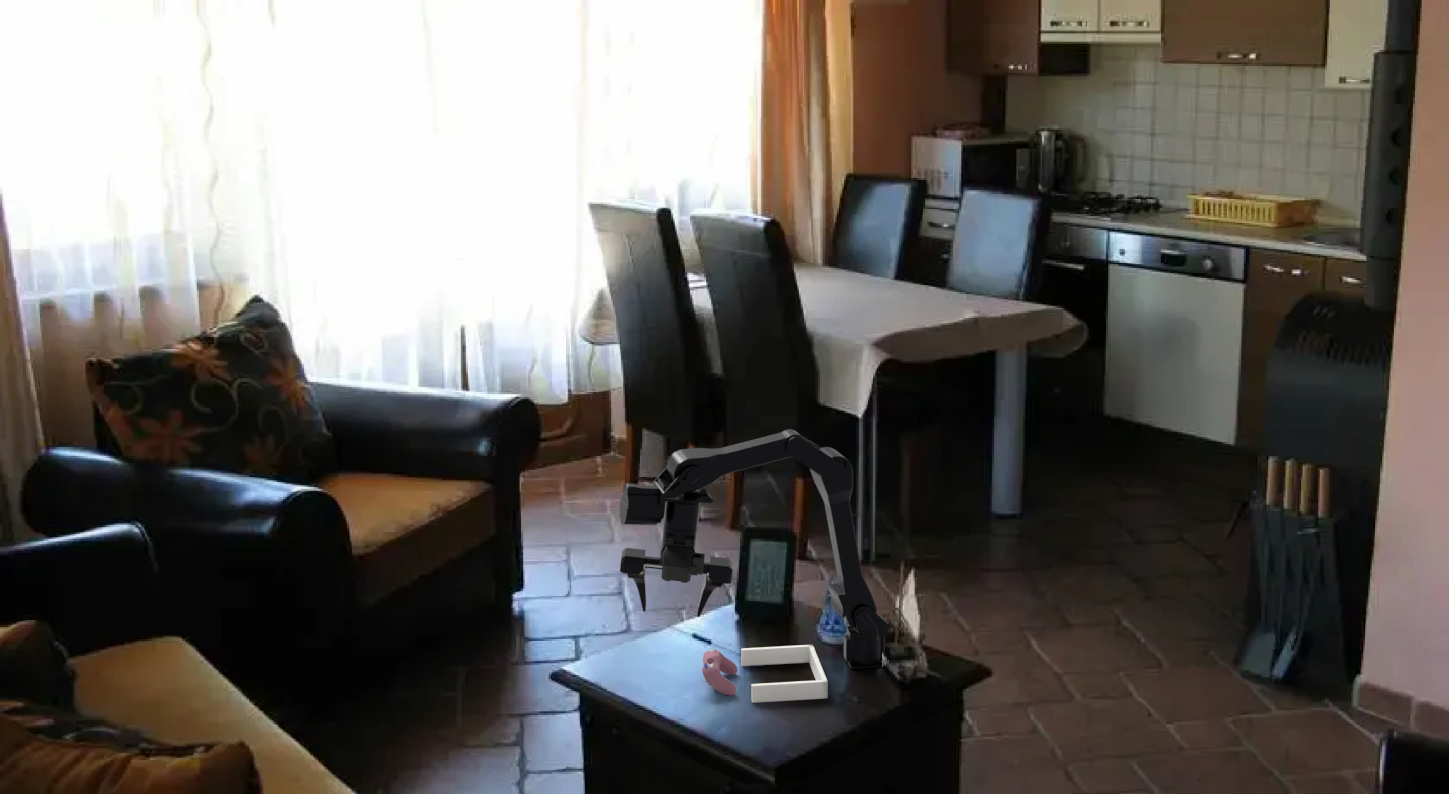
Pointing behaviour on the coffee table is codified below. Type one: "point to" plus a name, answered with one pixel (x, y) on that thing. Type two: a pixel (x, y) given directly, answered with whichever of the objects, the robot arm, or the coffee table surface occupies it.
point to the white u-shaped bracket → (786, 689)
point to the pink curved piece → (718, 672)
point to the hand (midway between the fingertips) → (671, 613)
